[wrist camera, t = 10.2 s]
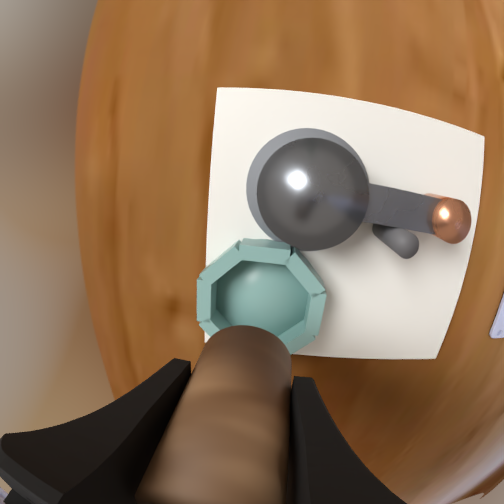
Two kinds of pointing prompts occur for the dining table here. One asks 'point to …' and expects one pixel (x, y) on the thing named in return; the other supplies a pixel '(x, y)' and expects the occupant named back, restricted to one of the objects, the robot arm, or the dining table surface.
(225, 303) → the socket
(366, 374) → the dining table surface
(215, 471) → the pin
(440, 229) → the grey ball-ended lever
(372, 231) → the board
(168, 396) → the robot arm
